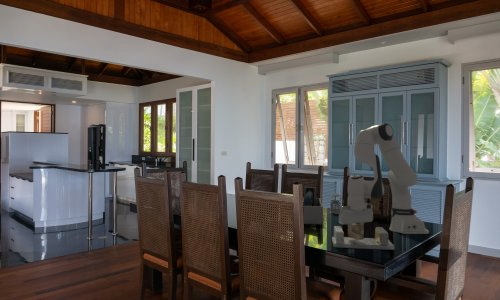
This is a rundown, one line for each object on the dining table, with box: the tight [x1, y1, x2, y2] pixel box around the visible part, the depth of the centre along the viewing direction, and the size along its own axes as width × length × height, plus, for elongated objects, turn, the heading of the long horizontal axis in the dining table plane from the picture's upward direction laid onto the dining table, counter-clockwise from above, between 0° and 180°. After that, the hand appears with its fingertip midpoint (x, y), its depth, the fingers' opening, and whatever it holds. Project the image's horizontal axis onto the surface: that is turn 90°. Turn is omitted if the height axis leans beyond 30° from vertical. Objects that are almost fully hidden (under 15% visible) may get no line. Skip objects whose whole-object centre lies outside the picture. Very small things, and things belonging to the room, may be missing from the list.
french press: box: [328, 181, 345, 215], centre depth 285 cm, size 10×12×25 cm
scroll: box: [366, 194, 387, 220], centre depth 263 cm, size 15×15×20 cm
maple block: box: [347, 223, 365, 240], centre depth 193 cm, size 4×8×7 cm, turn 22°
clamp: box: [303, 186, 317, 206], centre depth 263 cm, size 35×9×21 cm, turn 167°
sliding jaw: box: [374, 226, 389, 245], centre depth 191 cm, size 4×14×6 cm, turn 171°
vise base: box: [331, 225, 395, 251], centre depth 192 cm, size 30×14×8 cm, turn 81°
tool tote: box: [302, 197, 324, 225], centre depth 263 cm, size 14×40×12 cm, turn 171°
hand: (355, 231), depth 193 cm, fingers closed on maple block, 4 cm apart
